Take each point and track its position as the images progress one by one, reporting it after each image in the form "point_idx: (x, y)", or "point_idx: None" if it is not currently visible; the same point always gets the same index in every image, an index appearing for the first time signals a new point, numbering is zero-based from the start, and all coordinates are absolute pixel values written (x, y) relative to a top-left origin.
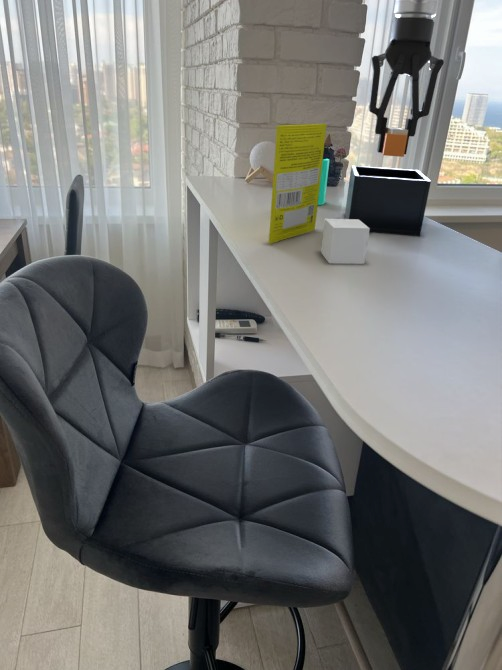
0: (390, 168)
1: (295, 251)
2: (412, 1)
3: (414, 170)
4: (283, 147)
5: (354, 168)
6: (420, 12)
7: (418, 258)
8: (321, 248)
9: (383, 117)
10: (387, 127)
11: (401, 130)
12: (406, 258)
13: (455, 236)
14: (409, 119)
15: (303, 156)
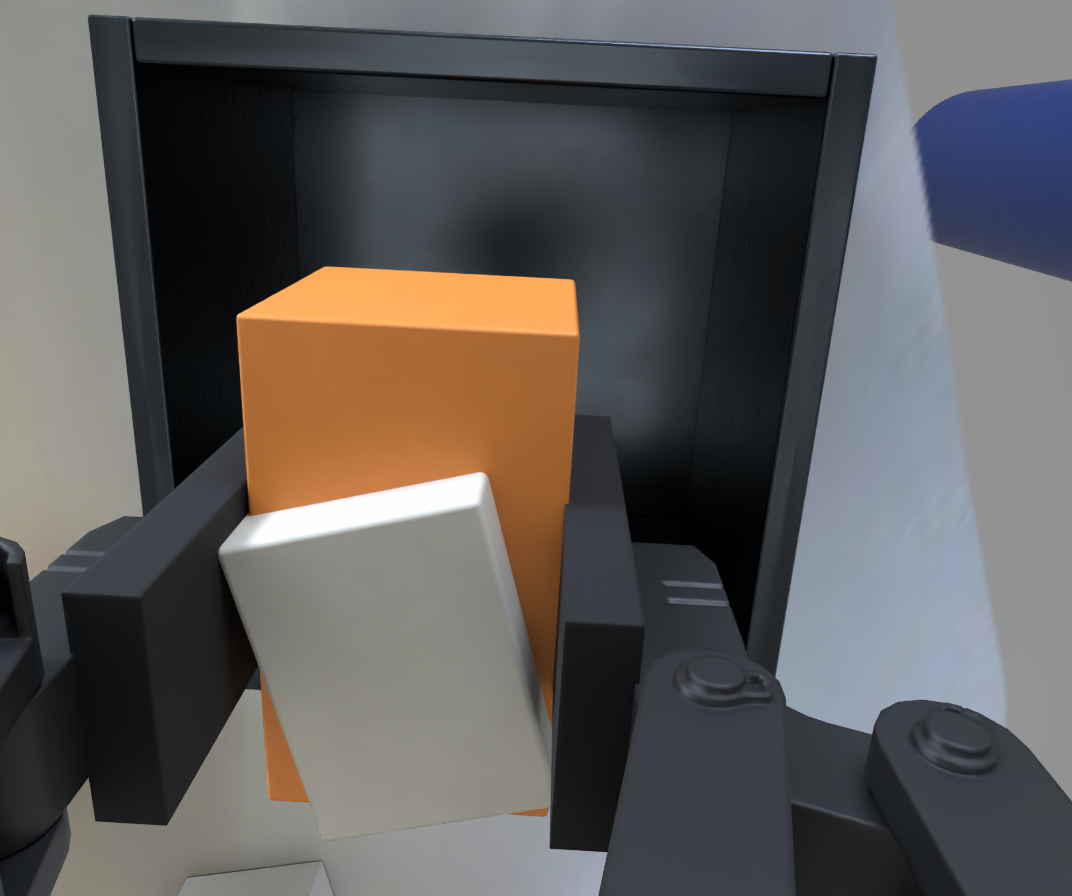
0: (546, 47)
1: (85, 880)
2: None
3: (818, 95)
4: None
5: (135, 245)
6: None
7: (590, 872)
8: (180, 892)
9: (89, 773)
10: (260, 578)
11: (457, 814)
12: (538, 880)
13: (927, 483)
14: (569, 847)
15: None
